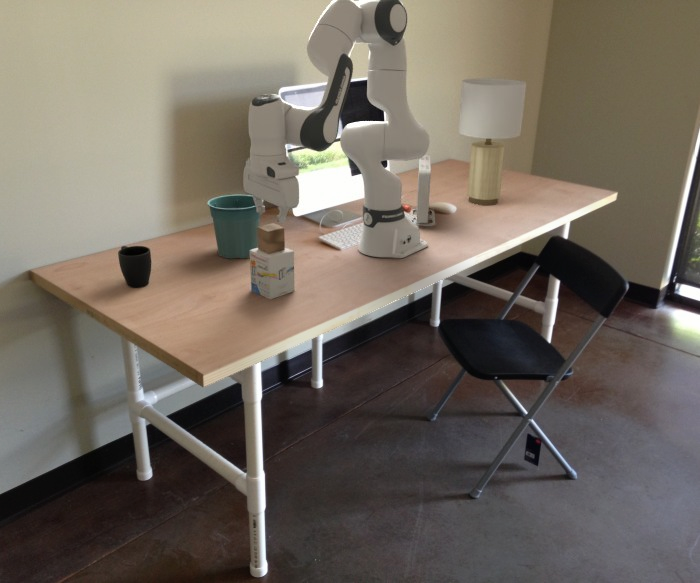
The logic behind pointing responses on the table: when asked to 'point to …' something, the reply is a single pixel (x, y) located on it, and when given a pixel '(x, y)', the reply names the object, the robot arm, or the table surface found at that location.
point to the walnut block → (270, 238)
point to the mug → (135, 265)
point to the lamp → (489, 131)
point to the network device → (423, 193)
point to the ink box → (272, 272)
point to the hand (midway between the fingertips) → (271, 217)
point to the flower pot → (235, 224)
